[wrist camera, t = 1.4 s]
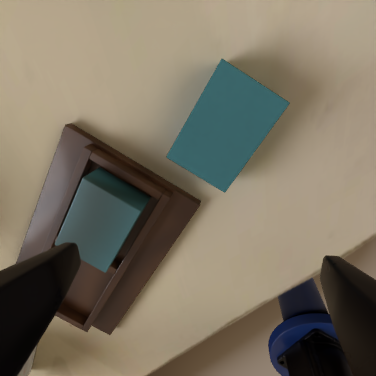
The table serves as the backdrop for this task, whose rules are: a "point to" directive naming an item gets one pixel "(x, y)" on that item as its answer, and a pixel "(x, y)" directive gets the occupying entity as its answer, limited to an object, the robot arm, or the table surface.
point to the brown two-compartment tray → (105, 226)
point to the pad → (226, 126)
